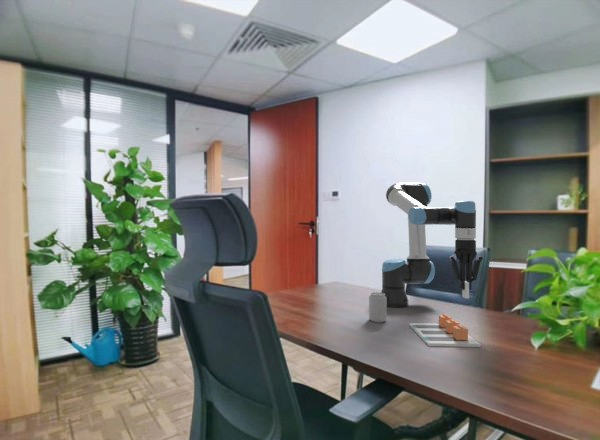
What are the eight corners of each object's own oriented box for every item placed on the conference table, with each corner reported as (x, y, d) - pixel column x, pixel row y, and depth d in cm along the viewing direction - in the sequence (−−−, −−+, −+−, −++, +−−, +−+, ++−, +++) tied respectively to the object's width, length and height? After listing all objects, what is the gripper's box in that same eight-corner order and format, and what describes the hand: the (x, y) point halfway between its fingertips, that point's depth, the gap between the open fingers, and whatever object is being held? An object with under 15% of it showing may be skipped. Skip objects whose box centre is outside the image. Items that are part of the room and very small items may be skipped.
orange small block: (438, 324, 138) (438, 313, 138) (448, 325, 137) (448, 313, 137) (441, 327, 134) (441, 315, 134) (451, 327, 134) (451, 316, 134)
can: (367, 321, 146) (367, 294, 146) (371, 317, 153) (371, 290, 153) (384, 324, 143) (384, 296, 143) (388, 319, 149) (388, 292, 149)
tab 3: (452, 336, 124) (452, 324, 124) (463, 337, 123) (463, 324, 123) (456, 339, 120) (456, 327, 120) (467, 340, 120) (467, 327, 120)
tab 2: (445, 330, 131) (445, 318, 131) (455, 330, 130) (455, 318, 130) (448, 333, 127) (448, 321, 127) (459, 333, 127) (459, 321, 127)
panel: (409, 325, 141) (409, 322, 141) (453, 326, 140) (453, 323, 140) (428, 346, 118) (428, 342, 118) (480, 346, 117) (480, 343, 117)
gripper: (452, 239, 132) (453, 299, 132) (486, 239, 132) (487, 299, 131) (445, 238, 140) (445, 295, 139) (477, 238, 139) (477, 295, 139)
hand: (465, 297), depth 135 cm, fingers closed
